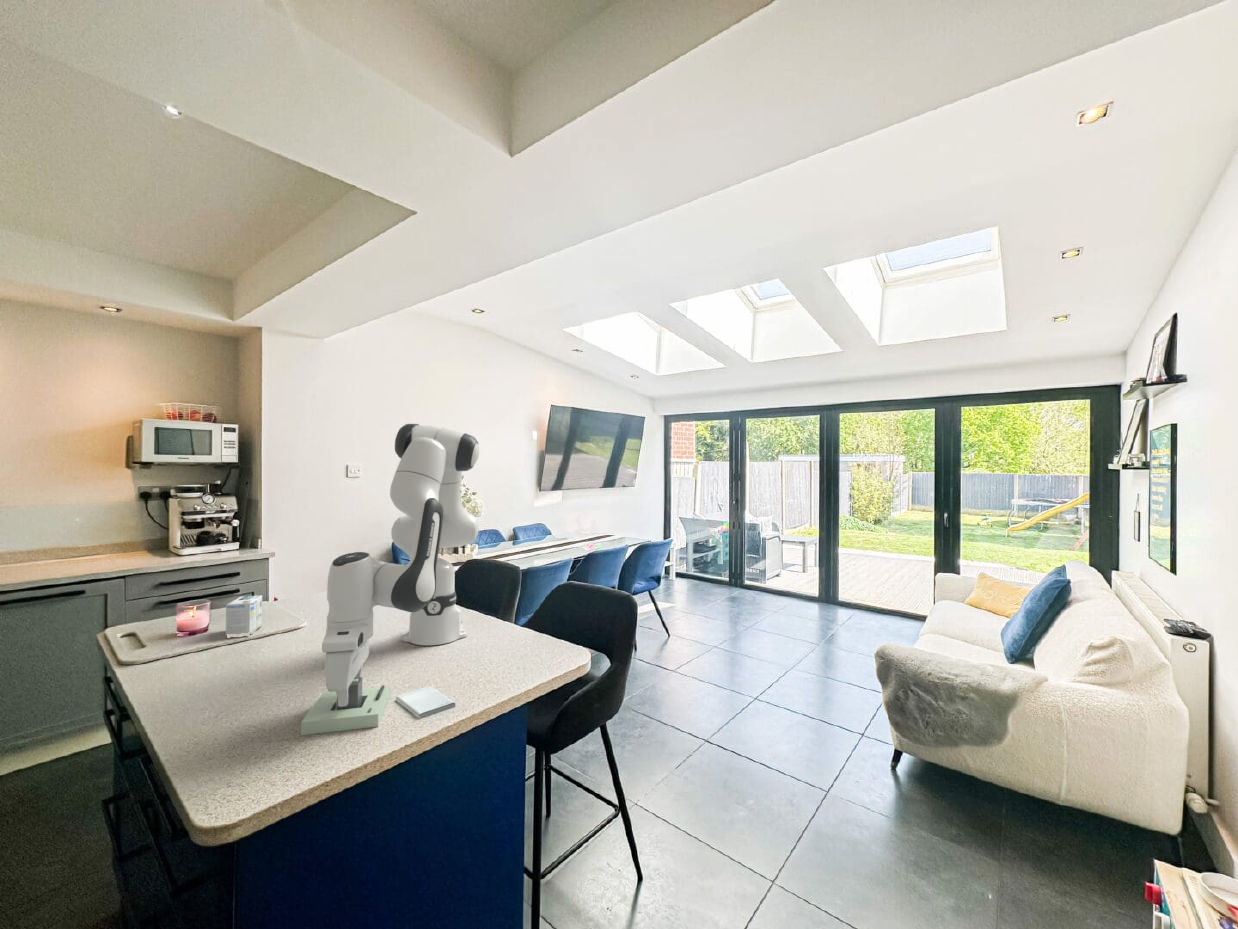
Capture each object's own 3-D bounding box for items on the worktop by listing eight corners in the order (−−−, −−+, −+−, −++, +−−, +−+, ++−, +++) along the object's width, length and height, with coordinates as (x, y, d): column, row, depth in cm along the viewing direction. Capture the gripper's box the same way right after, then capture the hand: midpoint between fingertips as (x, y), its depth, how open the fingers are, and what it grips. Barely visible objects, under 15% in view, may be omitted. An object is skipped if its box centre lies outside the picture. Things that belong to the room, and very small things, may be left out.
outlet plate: (322, 703, 114) (323, 689, 114) (390, 697, 117) (390, 683, 117) (300, 735, 100) (301, 718, 100) (378, 726, 104) (378, 710, 104)
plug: (341, 711, 110) (342, 677, 110) (362, 709, 111) (362, 675, 111) (336, 720, 106) (337, 685, 106) (357, 718, 107) (358, 683, 107)
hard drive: (455, 701, 113) (430, 684, 122) (419, 714, 107) (395, 695, 116) (455, 709, 113) (430, 691, 122) (419, 722, 107) (395, 702, 116)
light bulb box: (238, 629, 168) (239, 596, 168) (262, 627, 170) (263, 594, 170) (224, 639, 158) (225, 604, 158) (250, 637, 160) (250, 602, 160)
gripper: (347, 617, 118) (346, 677, 118) (318, 647, 98) (318, 719, 98) (376, 615, 120) (375, 675, 120) (354, 644, 100) (353, 715, 100)
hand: (349, 695), depth 109 cm, fingers open, 8 cm apart
